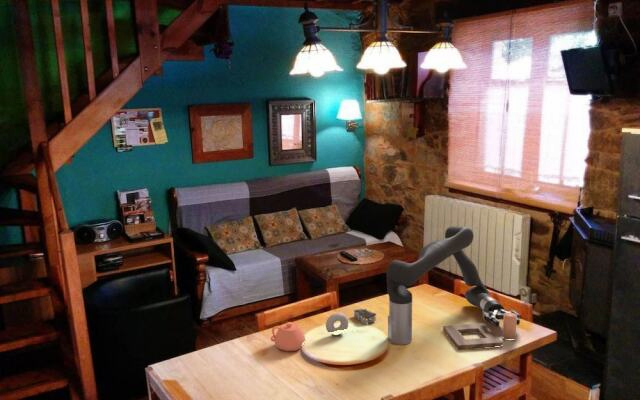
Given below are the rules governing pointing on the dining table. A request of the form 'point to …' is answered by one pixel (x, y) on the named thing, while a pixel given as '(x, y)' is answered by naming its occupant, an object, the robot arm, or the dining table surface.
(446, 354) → the dining table surface
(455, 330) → the hole plate
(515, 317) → the peg
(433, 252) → the robot arm
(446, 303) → the dining table surface
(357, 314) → the egg carton
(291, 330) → the sugar bowl
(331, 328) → the donut
